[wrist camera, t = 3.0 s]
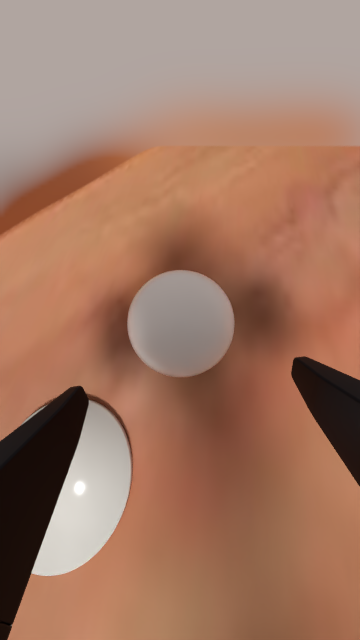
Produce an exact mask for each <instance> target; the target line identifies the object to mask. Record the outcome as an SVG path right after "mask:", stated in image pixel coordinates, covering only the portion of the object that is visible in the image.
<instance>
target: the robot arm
mask: <svg viewBox="0 0 360 640" xmlns="http://www.w3.org/2000/svg"><path fill="white" fill-rule="evenodd" d="M291 374H292V378H293V380H294V382H295V384H296V386H297V388H298V390H299V391H300V393H301V395H302V397H303V399H304V401H305V403H306V405H307V406H308V408H309V410H310V412H311V414H312V415H313V417H314V418H315V420H316V422H317V423H318V425H319V426H320V428H321V429H322V431H323V432H324V434H325V435H326V437H327V438H328V440H329V441H330V443H331V444H332V446H333V447H334V449H335V450H336V452H337V453H338V455H339V456H340V458H341V459H342V461H343V462H344V464H345V465H346V467H347V468H348V470H349V471H350V473H351V474H352V476H353V477H354V479H355V480H356V482H357V483H358V485H359V486H360V380H358V379H356V378H353V377H351V376H349V375H347V374H344V373H342V372H340V371H337V370H335V369H333V368H331V367H328V366H326V365H324V364H322V363H319V362H317V361H315V360H313V359H310V358H308V357H305V356H303V357H296V358H294V360H293V366H292V372H291ZM88 406H89V399H88V397H87V395H86V393H85V391H84V389H83V387H81V386H74V387H70V388H69V389H68V390H66V391H65V392H64V393H62V394H61V395H60V396H59V397H57V398H56V399H55V400H53V401H52V402H51V403H49V404H48V405H47V406H46V407H44V408H43V409H42V410H40V411H39V412H38V413H36V414H35V415H34V416H33V417H31V418H30V419H29V420H27V421H26V422H25V423H23V424H22V425H21V426H20V427H18V428H17V429H16V430H14V431H13V432H12V433H10V434H9V435H8V436H7V437H5V438H4V439H3V440H1V441H0V640H7V639H8V636H9V634H10V631H11V628H12V624H13V622H14V619H15V617H16V614H17V611H18V608H19V606H20V603H21V600H22V597H23V595H24V592H25V589H26V586H27V584H28V581H29V578H30V575H31V573H32V570H33V567H34V564H35V562H36V559H37V556H38V553H39V551H40V548H41V545H42V542H43V540H44V537H45V534H46V531H47V528H48V526H49V523H50V520H51V517H52V515H53V512H54V509H55V506H56V504H57V501H58V498H59V495H60V493H61V490H62V487H63V484H64V482H65V479H66V476H67V473H68V471H69V468H70V465H71V462H72V460H73V457H74V454H75V451H76V449H77V446H78V443H79V439H80V436H81V432H82V429H83V425H84V421H85V417H86V413H87V409H88Z"/></svg>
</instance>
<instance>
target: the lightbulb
mask: <svg viewBox="0 0 360 640" xmlns="http://www.w3.org/2000/svg"><path fill="white" fill-rule="evenodd" d="M234 328H235V319H234V312H233V308H232V305H231V303H230V301H229V299H228V297H227V295H226V294H225V292H224V291H223V289H222V288H221V287H220V286H219V285H218V284H217V283H216V282H214V281H213V280H212V279H210V278H209V277H207V276H205V275H203V274H200V273H198V272H194V271H189V270H172V271H168V272H164V273H161V274H159V275H157V276H155V277H153V278H152V279H150V280H149V281H147V282H146V283H145V284H144V285H143V286H142V287H141V288H140V289H139V291H138V292H137V293H136V295H135V296H134V298H133V300H132V302H131V305H130V308H129V312H128V318H127V329H128V335H129V339H130V342H131V345H132V347H133V349H134V351H135V352H136V354H137V355H138V357H139V358H140V359H141V360H142V361H143V362H144V363H145V364H146V365H147V366H148V367H150V368H151V369H153V370H154V371H156V372H158V373H161V374H163V375H167V376H171V377H191V376H195V375H199V374H201V373H204V372H206V371H207V370H209V369H211V368H212V367H214V366H215V365H216V364H217V363H218V362H219V361H220V360H221V359H222V358H223V357H224V355H225V354H226V352H227V351H228V349H229V347H230V345H231V342H232V339H233V335H234Z"/></svg>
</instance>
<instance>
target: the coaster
mask: <svg viewBox="0 0 360 640" xmlns="http://www.w3.org/2000/svg"><path fill="white" fill-rule="evenodd" d="M46 406H47V405H46ZM46 406H44V407H46ZM44 407H43V408H44ZM43 408H41V409H39V410H38V411H36V412H35V413H33V414H32V415H31V416H30V417H29V418H28V419H26V420H25V421H24V422H23V423H25V422H26V421H27V420H29V419H30V418H31V417H33V416H34V415H35V414H36V413H38V412H39V411H40V410H42V409H43ZM23 423H22V424H23ZM22 424H21V425H22ZM132 470H133V469H132V455H131V448H130V445H129V441H128V438H127V435H126V433H125V430H124V428H123V427H122V425H121V423H120V422H119V420H118V419H117V418H116V416H115V415H114V414H113V413H112V412H111V411H110V410H109V409H107V408H106V407H104V406H103V405H101V404H99V403H97V402H95V401H92V400H89V406H88V409H87V413H86V417H85V421H84V425H83V429H82V432H81V436H80V439H79V443H78V446H77V449H76V451H75V454H74V457H73V460H72V462H71V465H70V468H69V471H68V473H67V476H66V479H65V482H64V484H63V487H62V490H61V493H60V495H59V498H58V501H57V504H56V506H55V509H54V512H53V515H52V517H51V520H50V523H49V526H48V528H47V531H46V534H45V537H44V540H43V542H42V545H41V548H40V551H39V553H38V556H37V559H36V562H35V564H34V567H33V570H32V573H33V574H36V575H42V576H53V575H60V574H64V573H67V572H70V571H72V570H74V569H76V568H78V567H80V566H81V565H83V564H84V563H86V562H87V561H89V560H90V559H91V558H92V557H93V556H94V555H95V554H96V553H98V551H99V550H100V549H101V548H102V547H103V546H104V544H105V543H106V542H107V540H108V539H109V538H110V536H111V535H112V533H113V531H114V530H115V528H116V526H117V524H118V522H119V520H120V518H121V517H122V514H123V512H124V509H125V507H126V504H127V501H128V497H129V494H130V488H131V483H132Z"/></svg>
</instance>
